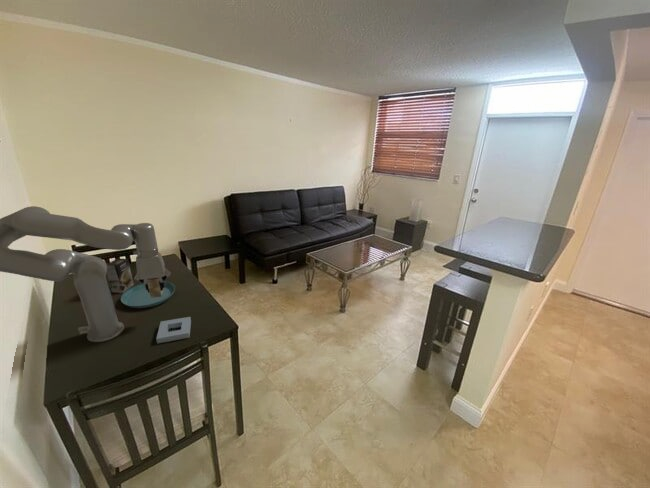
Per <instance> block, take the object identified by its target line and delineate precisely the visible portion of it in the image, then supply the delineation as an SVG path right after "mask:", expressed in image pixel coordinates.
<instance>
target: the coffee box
mask: <svg viewBox="0 0 650 488" xmlns="http://www.w3.org/2000/svg"><path fill="white" fill-rule="evenodd" d="M106 264H107V274H106V276H107V278H108V283H109V289H110V293H117V294H118V293H119V294H124V293H125V292H126V291H127V290H129V289H131V288H133V287H134V278H133V275H132V271H131V267H130V262H129V259H128V258H116V259H114V260H112V261H110V262H108V263H106Z"/></svg>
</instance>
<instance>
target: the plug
mask: <svg viewBox="0 0 650 488" xmlns="http://www.w3.org/2000/svg"><path fill="white" fill-rule="evenodd" d="M147 283H148V288H149V292H150V297H151V298H156V297H162V293H163V290H162V291H161V290H160V285H159V283H160V280H159V278H153V279H147Z"/></svg>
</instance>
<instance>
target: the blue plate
mask: <svg viewBox="0 0 650 488" xmlns="http://www.w3.org/2000/svg"><path fill="white" fill-rule="evenodd" d="M175 291H176V286H175V285H174V283H172V282H169V281H166V280H164V288H163V293H162V297H156V298H151V297H150V292H149V293H148V290H146V287H145V285H144V283H140V284H138V285H135V286H132V287H130V288H129V289H127V290H126V291H125V292H123V293H122V294H121V297H120V302H121V303H122V304H123V305H125V306H126V307H129V308H132V309H133V308H134V309H147V308H151V307H155V306H158V305H160V304H163V303H165V302H166V301H167V300H169V299H170V298H171V297H172V296H173V295H174V293H175Z"/></svg>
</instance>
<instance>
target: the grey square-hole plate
mask: <svg viewBox="0 0 650 488" xmlns="http://www.w3.org/2000/svg"><path fill="white" fill-rule="evenodd" d="M159 323H160V324H159V327H158V331H157V334H156V338H155V339H156V344H162V343H168V342H172V341H179V340H183V339H189V338H190V335H191V325H192V319H191V316H187V317H181V318H180V317H179V318H174V319H169V320H161V321H160V322H159ZM171 328H172V329H176V328H180V329H178V330H172V331H169V330H171Z"/></svg>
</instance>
